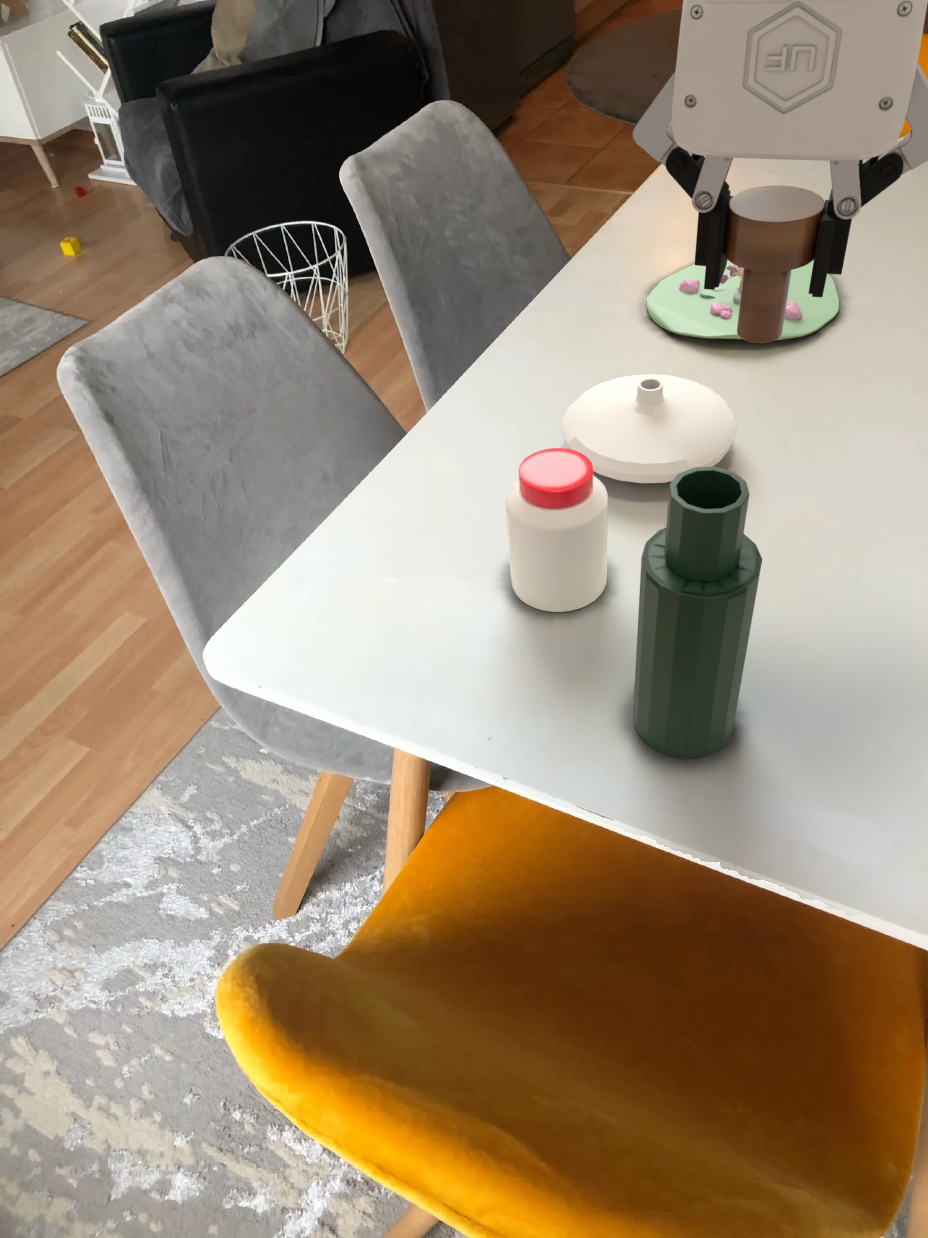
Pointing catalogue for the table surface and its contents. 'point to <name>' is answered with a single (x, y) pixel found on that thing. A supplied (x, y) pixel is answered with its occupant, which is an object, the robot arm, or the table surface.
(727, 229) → the stopper
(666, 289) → the plant
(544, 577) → the pill bottle
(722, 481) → the bottle
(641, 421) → the vase
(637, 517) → the table surface
